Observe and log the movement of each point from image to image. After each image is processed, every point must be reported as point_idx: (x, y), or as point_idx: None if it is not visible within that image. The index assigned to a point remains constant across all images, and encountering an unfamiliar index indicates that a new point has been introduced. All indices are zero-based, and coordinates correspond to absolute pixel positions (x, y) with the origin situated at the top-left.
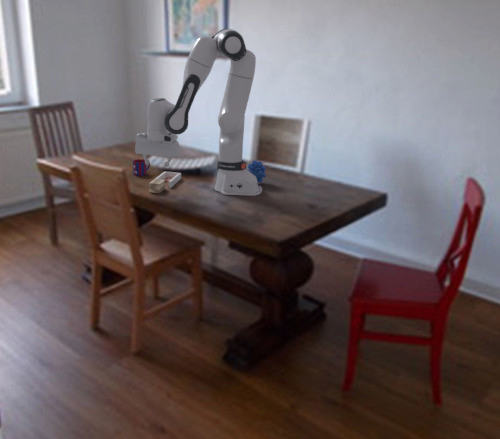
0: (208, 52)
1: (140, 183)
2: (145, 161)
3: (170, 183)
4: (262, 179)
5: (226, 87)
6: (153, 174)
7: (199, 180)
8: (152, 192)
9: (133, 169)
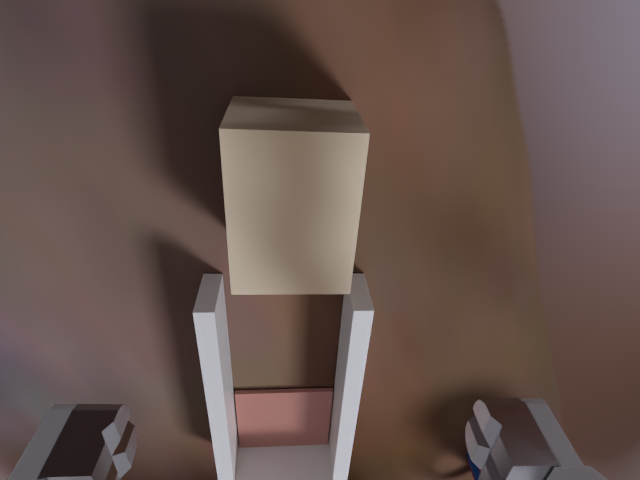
0: None
1: (481, 304)
2: (562, 442)
3: (197, 301)
4: None
5: None
6: (423, 461)
7: None
8: (316, 99)
9: None
